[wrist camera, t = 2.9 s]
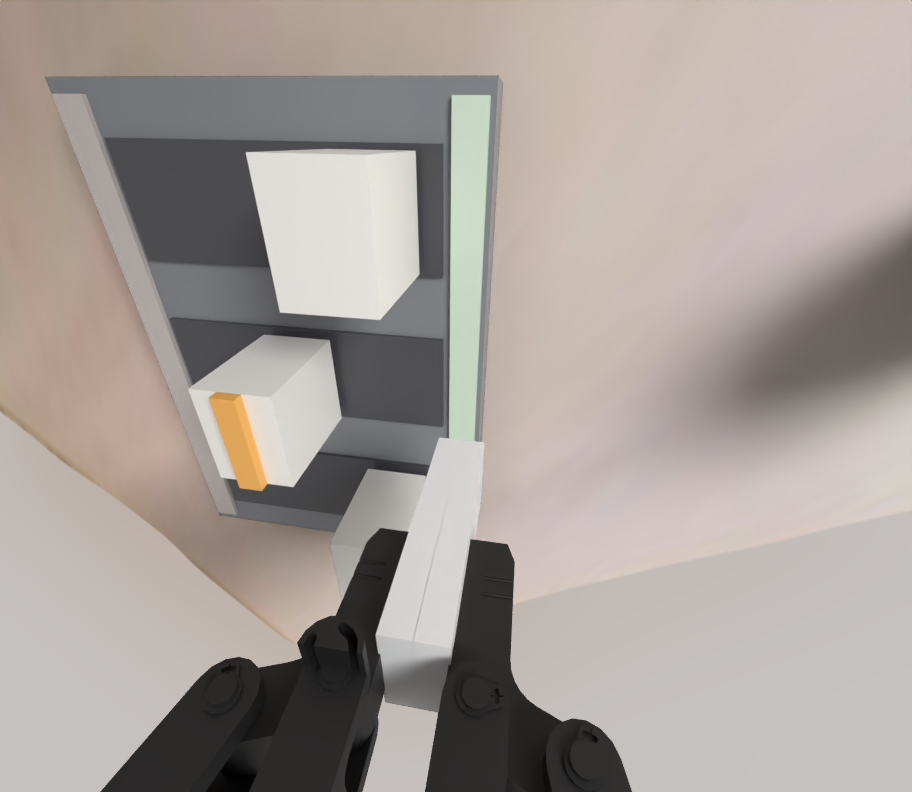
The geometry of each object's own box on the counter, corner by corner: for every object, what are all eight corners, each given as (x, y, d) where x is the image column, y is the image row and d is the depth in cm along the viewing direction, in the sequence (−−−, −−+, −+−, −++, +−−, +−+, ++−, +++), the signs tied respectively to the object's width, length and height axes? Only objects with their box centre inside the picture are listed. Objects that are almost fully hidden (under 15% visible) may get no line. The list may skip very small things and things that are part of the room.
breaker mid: (263, 334, 18) (179, 395, 14) (329, 340, 18) (263, 403, 13) (282, 411, 20) (214, 484, 16) (341, 417, 20) (288, 494, 16)
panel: (95, 82, 16) (39, 75, 15) (502, 83, 14) (498, 74, 13) (238, 492, 28) (217, 517, 26) (476, 525, 26) (472, 555, 24)
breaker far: (368, 468, 21) (329, 543, 17) (425, 475, 21) (400, 554, 17) (374, 523, 23) (342, 601, 19) (427, 530, 23) (404, 611, 19)
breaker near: (327, 148, 14) (245, 152, 10) (415, 150, 14) (366, 154, 10) (343, 269, 16) (279, 312, 12) (419, 274, 16) (380, 320, 12)
